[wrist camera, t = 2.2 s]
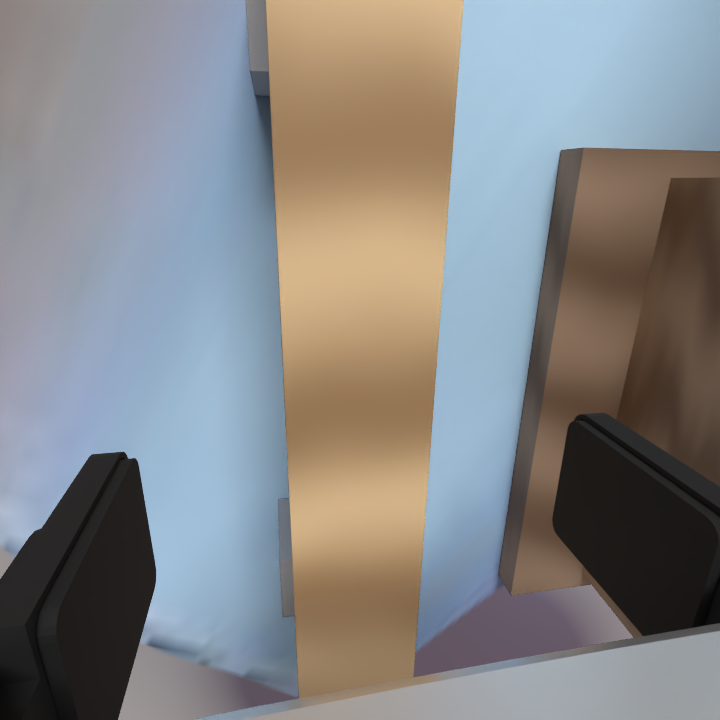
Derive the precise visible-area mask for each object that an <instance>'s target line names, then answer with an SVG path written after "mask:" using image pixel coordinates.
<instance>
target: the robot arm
mask: <svg viewBox="0 0 720 720" xmlns="http://www.w3.org/2000/svg"><path fill="white" fill-rule="evenodd" d="M552 523H553V528H554V531H555V533H556V534H557V536H558V537H559V538H560V539H561V541H562V542H563V543H564V544H565V545H566V546H567V548H568V549H569V550H570V551H571V552H572V553H573V555H574V556H575V557H576V558H577V559H578V560H579V562H580V563H581V564H582V565H583V566H584V567H585V569H586V570H587V571H588V572H589V573H590V575H591V576H592V577H593V578H594V579H595V580H596V582H597V583H598V584H599V585H600V586H601V587H602V589H603V590H604V591H605V592H606V593H607V594H608V596H609V597H610V598H611V599H612V600H613V602H614V603H615V604H616V605H617V606H618V607H619V609H620V610H621V611H622V612H623V613H624V614H625V616H626V617H627V618H628V619H629V620H630V621H631V623H632V624H633V625H634V626H635V627H636V628H637V630H638V631H639V632H640V633H641V634H642V637H637V638H631V639H625V640H619V641H613V642H608V643H602V644H596V645H591V646H585V647H580V648H574V649H568V650H562V651H557V652H551V653H546V654H540V655H534V656H529V657H523V658H518V659H512V660H507V661H501V662H495V663H490V664H484V665H479V666H473V667H468V668H463V669H456V670H451V671H445V672H440V673H434V674H429V675H424V676H418V677H412V678H407V679H402V680H396V681H391V682H386V683H380V684H375V685H369V686H364V687H359V688H353V689H348V690H342V691H337V692H332V693H326V694H321V695H316V696H310V697H305V698H299V699H294V700H289V701H284V702H278V703H272V704H267V705H262V706H256V707H251V708H247V709H242V710H237V711H232V712H227V713H222V714H217V715H212V716H207V717H202V718H197V719H192V720H720V487H719V486H718V485H716V484H715V483H713V482H712V481H710V480H709V479H707V478H706V477H704V476H702V475H701V474H699V473H698V472H696V471H695V470H693V469H692V468H690V467H689V466H687V465H685V464H684V463H682V462H681V461H679V460H678V459H676V458H675V457H673V456H671V455H670V454H668V453H667V452H665V451H664V450H662V449H661V448H659V447H658V446H656V445H654V444H653V443H651V442H650V441H648V440H647V439H645V438H644V437H642V436H641V435H639V434H637V433H636V432H634V431H633V430H631V429H630V428H628V427H627V426H625V425H623V424H622V423H620V422H619V421H617V420H616V419H614V418H613V417H611V416H610V415H608V414H606V413H591V414H579V415H578V416H576V418H575V419H574V421H572V422H571V423H570V424H569V426H568V429H567V435H566V441H565V447H564V453H563V459H562V464H561V470H560V476H559V482H558V488H557V494H556V499H555V505H554V511H553V517H552ZM155 583H156V566H155V560H154V554H153V548H152V543H151V537H150V531H149V525H148V519H147V513H146V507H145V501H144V495H143V489H142V483H141V477H140V471H139V465H138V462H137V460H136V459H135V458H133V459H128V457H127V455H126V453H124V452H116V453H104V454H93V455H91V456H90V457H89V458H88V460H87V461H86V463H85V464H84V466H83V467H82V469H81V470H80V472H79V473H78V475H77V476H76V478H75V479H74V481H73V482H72V484H71V485H70V487H69V488H68V490H67V491H66V493H65V494H64V496H63V497H62V499H61V500H60V502H59V503H58V505H57V506H56V508H55V509H54V511H53V512H52V514H51V515H50V517H49V518H48V520H47V521H46V523H45V524H44V526H43V527H42V529H39V530H36V531H34V533H33V534H32V535H31V536H30V537H29V538H28V540H27V541H26V543H25V544H24V546H23V547H22V548H21V550H20V551H19V553H18V554H17V556H16V557H15V559H14V560H13V562H12V563H11V565H10V566H9V567H8V569H7V570H6V572H5V573H4V575H3V576H2V578H1V579H0V720H118V717H119V714H120V710H121V706H122V703H123V699H124V696H125V692H126V688H127V685H128V682H129V678H130V674H131V671H132V667H133V664H134V660H135V657H136V653H137V649H138V645H139V642H140V639H141V635H142V632H143V628H144V624H145V621H146V617H147V614H148V610H149V607H150V603H151V599H152V596H153V592H154V588H155Z"/></svg>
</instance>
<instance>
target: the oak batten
mask: <svg viewBox="0 0 720 720" xmlns="http://www.w3.org/2000/svg"><path fill="white" fill-rule="evenodd" d="M463 1H464V0H265V7H266V28H267V48H268V69H269V90H270V111H271V131H272V152H273V173H274V194H275V215H276V235H277V256H278V277H279V298H280V318H281V339H282V360H283V381H284V402H285V422H286V443H287V464H288V485H289V505H290V526H291V547H292V568H293V588H294V609H295V630H296V650H297V669H298V688H299V698H305V697H310V696H316V695H321V694H326V693H332V692H337V691H342V690H348V689H353V688H359V687H364V686H369V685H375V684H380V683H386V682H391V681H396V680H402V679H407V678H412V677H413V676H414V662H415V649H416V636H417V622H418V609H419V595H420V582H421V568H422V555H423V541H424V528H425V514H426V501H427V487H428V474H429V460H430V447H431V433H432V420H433V406H434V393H435V379H436V366H437V352H438V339H439V325H440V312H441V298H442V285H443V271H444V258H445V244H446V231H447V217H448V204H449V190H450V177H451V163H452V150H453V136H454V123H455V109H456V96H457V82H458V69H459V55H460V42H461V28H462V15H463Z"/></svg>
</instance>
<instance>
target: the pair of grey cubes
mask: <svg viewBox="0 0 720 720" xmlns="http://www.w3.org/2000/svg"><path fill="white" fill-rule="evenodd" d="M246 13H247V29H248V46H249V63H250V73H251V78H252V83H253V88H254V93H255V95H263V96H270V90H269V69H268V48H267V28H266V7H265V0H246ZM278 513H279V562H280V578H281V595H282V612H283V617H289V616H295V609H294V588H293V568H292V547H291V526H290V505H289V498H286V499H278Z"/></svg>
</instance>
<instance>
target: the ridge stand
mask: <svg viewBox="0 0 720 720" xmlns="http://www.w3.org/2000/svg"><path fill="white" fill-rule="evenodd" d="M591 413H606V414H608V415H610V416H611V417H613V418H614V419H616V420H617V421H619V422H620V423H622V424H623V425H625V426H627V427H628V428H630V429H631V430H633V431H634V432H636V433H637V434H639V435H641V436H642V437H644V438H645V439H647V440H648V441H650V442H651V443H653V444H654V445H656V446H658V447H659V448H661V449H662V450H664V451H665V452H667V453H668V454H670V455H671V456H673V457H675V458H676V459H678V460H679V461H681V462H682V463H684V464H685V465H687V466H689V467H690V468H692V469H693V470H695V471H696V472H698V473H699V474H701V475H702V476H704V477H706V478H707V479H709V480H710V481H712V482H713V483H715V484H716V485H718V486H719V487H720V151H684V150H648V149H611V148H577V149H567V150H561V155H560V162H559V169H558V176H557V182H556V189H555V196H554V203H553V209H552V216H551V223H550V230H549V236H548V243H547V250H546V257H545V263H544V270H543V277H542V284H541V291H540V297H539V304H538V311H537V318H536V324H535V331H534V338H533V345H532V351H531V358H530V365H529V372H528V378H527V385H526V392H525V399H524V405H523V412H522V419H521V426H520V433H519V439H518V446H517V453H516V460H515V466H514V473H513V480H512V487H511V493H510V500H509V507H508V514H507V520H506V527H505V534H504V541H503V547H502V554H501V561H500V568H499V576H500V578H501V579H502V581H503V583H504V585H505V586H506V588H507V590H508V591H509V593H510V595H519V594H526V593H533V592H540V591H547V590H554V589H562V588H569V587H576V586H583V585H590V584H592V586H593V587H594V588H595V589H596V591H597V592H598V593H599V594H600V596H601V597H602V598H603V599H604V601H605V602H606V603H607V604H608V606H609V607H610V608H611V609H612V611H613V612H614V613H615V614H616V616H617V617H618V618H619V620H620V621H621V622H622V623H623V625H624V626H625V627H626V628H627V630H628V631H629V632H630V633H631V634H632V636H633V637H634V638H637V637H642V634H641V633H640V632H639V631H638V630H637V628H636V627H635V626H634V625H633V624H632V623H631V621H630V620H629V619H628V618H627V617H626V616H625V614H624V613H623V612H622V611H621V610H620V609H619V607H618V606H617V605H616V604H615V603H614V602H613V600H612V599H611V598H610V597H609V596H608V594H607V593H606V592H605V591H604V590H603V589H602V587H601V586H600V585H599V584H598V583H597V582H596V580H595V579H594V578H593V577H592V576H591V575H590V573H589V572H588V571H587V570H586V569H585V567H584V566H583V565H582V564H581V563H580V562H579V560H578V559H577V558H576V557H575V556H574V555H573V553H572V552H571V551H570V550H569V549H568V548H567V546H566V545H565V544H564V543H563V542H562V541H561V539H560V538H559V537H558V536H557V534H556V533H555V531H554V528H553V523H552V517H553V511H554V505H555V499H556V494H557V488H558V482H559V476H560V470H561V464H562V459H563V453H564V447H565V441H566V435H567V429H568V426H569V424H570V423H571V422H572V421H574V419H575V418H576V416H578V415H579V414H591Z"/></svg>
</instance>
